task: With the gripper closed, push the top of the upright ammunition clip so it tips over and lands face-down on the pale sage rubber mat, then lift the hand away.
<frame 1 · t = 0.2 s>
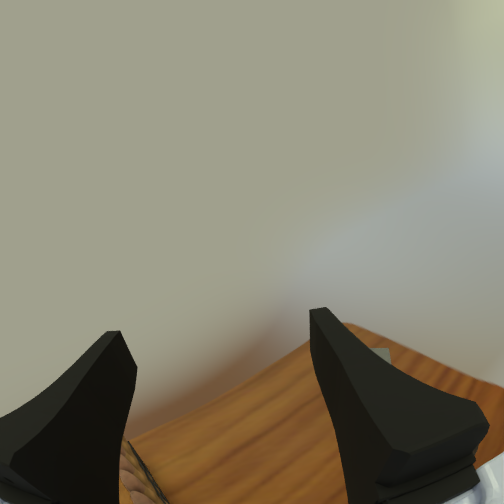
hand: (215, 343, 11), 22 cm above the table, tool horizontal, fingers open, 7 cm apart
dice cube: (362, 393, 33), on the table
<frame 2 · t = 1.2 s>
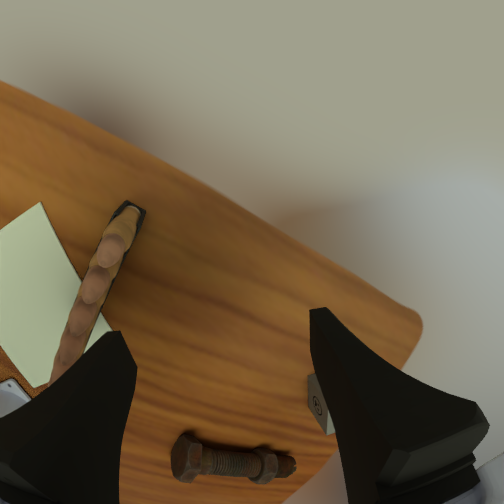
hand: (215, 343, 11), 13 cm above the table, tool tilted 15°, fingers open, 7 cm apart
bolt: (234, 450, 32), on the table
dice cube: (327, 383, 32), on the table
ammunition clip: (106, 265, 22), on the table, touching mat
mat: (30, 308, 21), on the table
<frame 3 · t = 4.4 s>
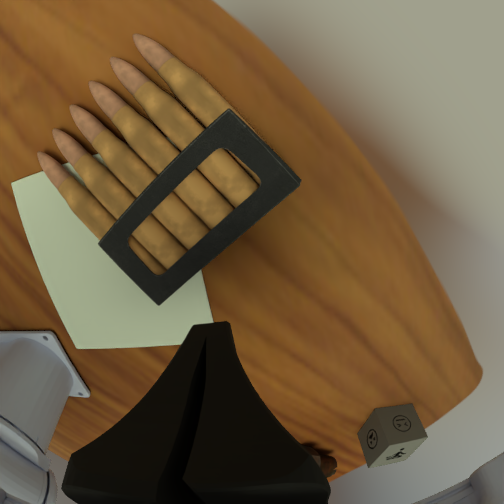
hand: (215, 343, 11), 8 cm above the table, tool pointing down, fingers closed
bolt: (277, 444, 30), on the table
dice cube: (384, 417, 29), on the table
ammunition clip: (226, 246, 17), point 1 cm above the table, touching mat
mat: (109, 263, 19), on the table
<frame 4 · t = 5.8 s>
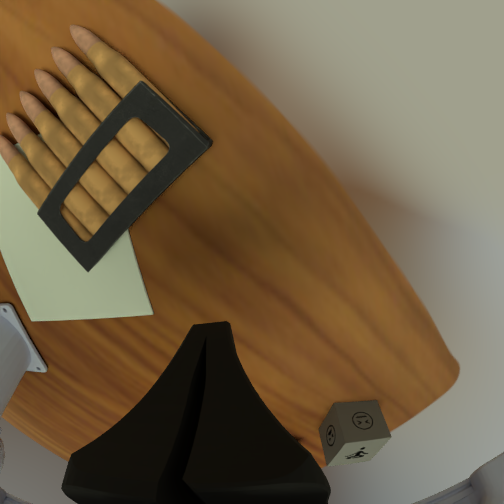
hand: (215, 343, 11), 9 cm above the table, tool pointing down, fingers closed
dice cube: (346, 413, 29), on the table
ammunition clip: (146, 213, 17), point 1 cm above the table, touching mat
mat: (53, 235, 18), on the table
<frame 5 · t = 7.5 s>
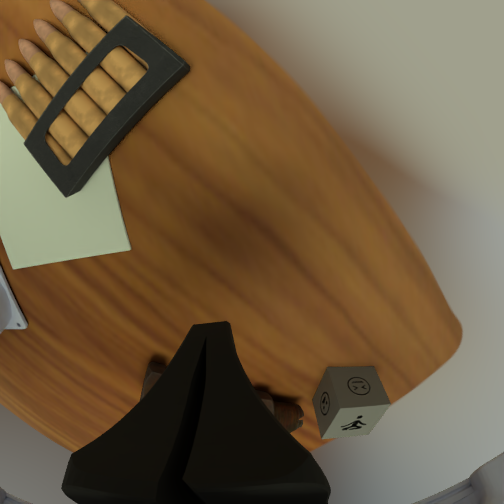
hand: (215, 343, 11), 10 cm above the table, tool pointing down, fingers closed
bolt: (223, 389, 28), on the table
dice cube: (342, 382, 28), on the table
ammunition clip: (125, 134, 16), point 1 cm above the table, touching mat
mat: (37, 171, 18), on the table
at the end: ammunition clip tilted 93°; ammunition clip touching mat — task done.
